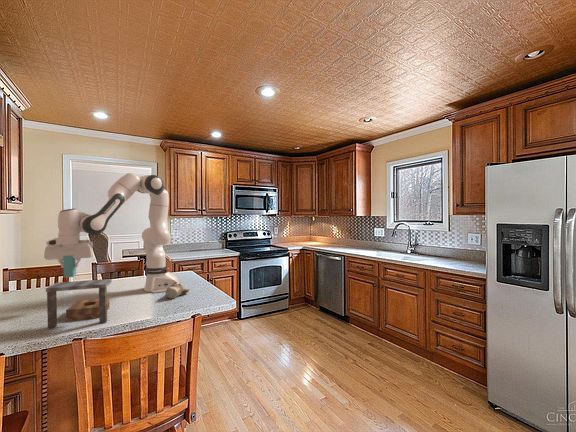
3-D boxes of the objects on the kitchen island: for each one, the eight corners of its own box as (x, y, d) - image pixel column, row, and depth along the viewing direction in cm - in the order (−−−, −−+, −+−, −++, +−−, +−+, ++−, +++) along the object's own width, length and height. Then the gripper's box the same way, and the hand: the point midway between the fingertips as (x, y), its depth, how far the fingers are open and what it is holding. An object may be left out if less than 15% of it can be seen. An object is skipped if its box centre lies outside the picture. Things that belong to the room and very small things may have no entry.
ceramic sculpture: (160, 283, 163) (174, 279, 178) (159, 299, 163) (174, 293, 178) (177, 284, 162) (190, 279, 176) (177, 300, 161) (190, 294, 176)
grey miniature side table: (118, 306, 151) (117, 273, 151) (106, 323, 130) (105, 284, 129) (68, 311, 144) (67, 276, 144) (46, 329, 123) (45, 288, 122)
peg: (76, 275, 152) (75, 254, 151) (73, 276, 148) (72, 255, 148) (66, 275, 150) (66, 254, 150) (63, 277, 147) (63, 255, 146)
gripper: (94, 239, 155) (95, 264, 155) (48, 240, 148) (49, 267, 149) (90, 240, 149) (91, 267, 149) (42, 241, 142) (43, 269, 143)
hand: (69, 267), depth 149 cm, fingers closed on peg, 4 cm apart
